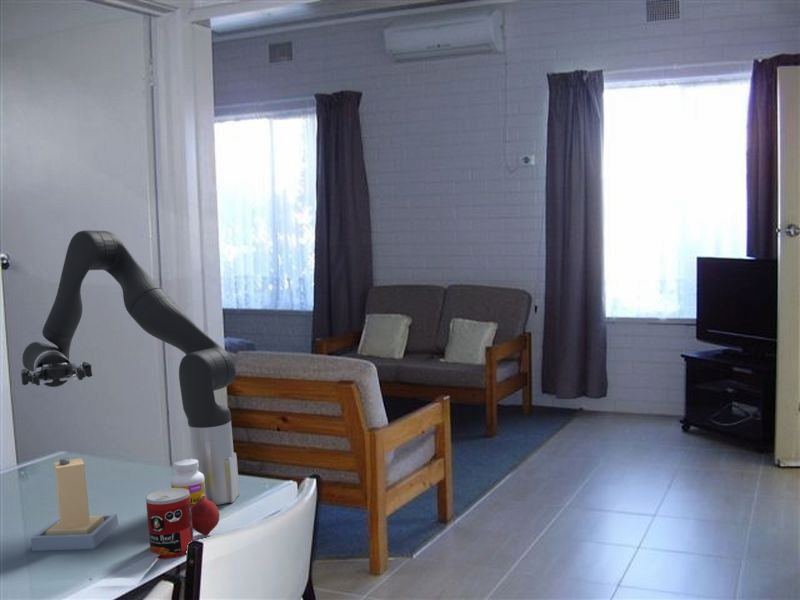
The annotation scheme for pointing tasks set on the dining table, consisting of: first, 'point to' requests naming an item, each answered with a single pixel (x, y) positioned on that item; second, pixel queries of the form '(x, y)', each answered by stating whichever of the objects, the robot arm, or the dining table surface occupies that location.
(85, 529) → the beige slab
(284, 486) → the dining table surface
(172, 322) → the robot arm
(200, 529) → the onion
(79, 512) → the carton
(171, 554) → the canned food
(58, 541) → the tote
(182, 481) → the supplement bottle
